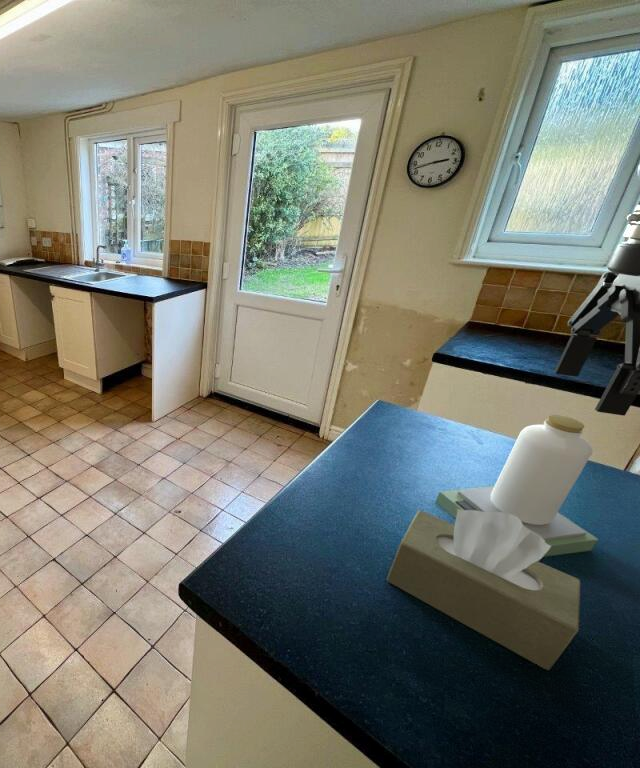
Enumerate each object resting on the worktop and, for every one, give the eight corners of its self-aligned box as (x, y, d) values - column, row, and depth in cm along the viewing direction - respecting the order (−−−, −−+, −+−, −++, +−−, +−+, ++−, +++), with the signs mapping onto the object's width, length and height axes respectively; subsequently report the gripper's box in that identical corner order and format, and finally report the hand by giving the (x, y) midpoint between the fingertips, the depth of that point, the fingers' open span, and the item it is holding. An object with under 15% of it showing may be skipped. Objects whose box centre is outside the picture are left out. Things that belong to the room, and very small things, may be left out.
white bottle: (493, 487, 77) (534, 403, 69) (553, 511, 72) (605, 421, 64) (483, 509, 72) (526, 420, 64) (548, 536, 66) (603, 442, 59)
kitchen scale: (509, 493, 80) (515, 480, 79) (591, 550, 68) (600, 536, 66) (435, 501, 78) (440, 488, 77) (505, 561, 66) (513, 547, 64)
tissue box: (556, 621, 57) (614, 536, 50) (551, 674, 51) (617, 585, 44) (402, 544, 69) (432, 468, 62) (383, 580, 63) (414, 499, 56)
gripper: (578, 231, 64) (523, 358, 73) (687, 255, 44) (592, 426, 53) (645, 233, 61) (580, 365, 70) (796, 259, 41) (676, 439, 50)
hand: (585, 392), depth 62 cm, fingers open, 13 cm apart
